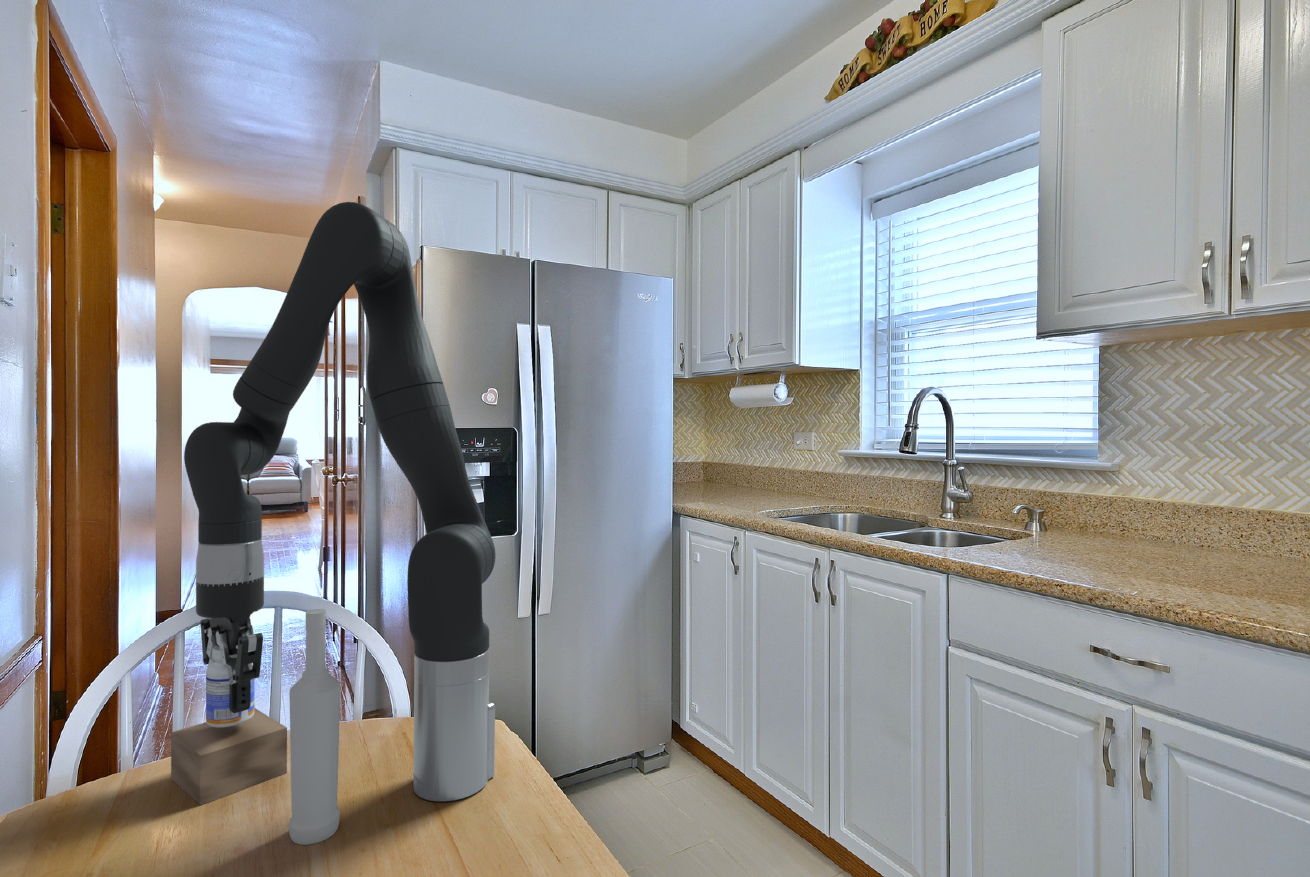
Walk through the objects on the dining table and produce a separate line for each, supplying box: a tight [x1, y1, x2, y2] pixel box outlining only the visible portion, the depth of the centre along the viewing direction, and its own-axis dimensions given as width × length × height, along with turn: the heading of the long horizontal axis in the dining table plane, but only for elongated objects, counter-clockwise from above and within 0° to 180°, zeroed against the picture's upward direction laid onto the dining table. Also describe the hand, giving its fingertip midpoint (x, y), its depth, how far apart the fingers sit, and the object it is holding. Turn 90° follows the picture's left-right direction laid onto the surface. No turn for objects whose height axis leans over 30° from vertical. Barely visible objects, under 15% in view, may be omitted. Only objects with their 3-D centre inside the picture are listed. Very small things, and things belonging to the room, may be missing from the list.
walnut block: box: [170, 707, 288, 806], centre depth 89 cm, size 10×10×6 cm
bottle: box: [288, 608, 341, 846], centre depth 76 cm, size 5×5×25 cm
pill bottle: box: [205, 645, 256, 728], centre depth 88 cm, size 5×5×10 cm
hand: (230, 704), depth 89 cm, fingers closed on pill bottle, 5 cm apart
